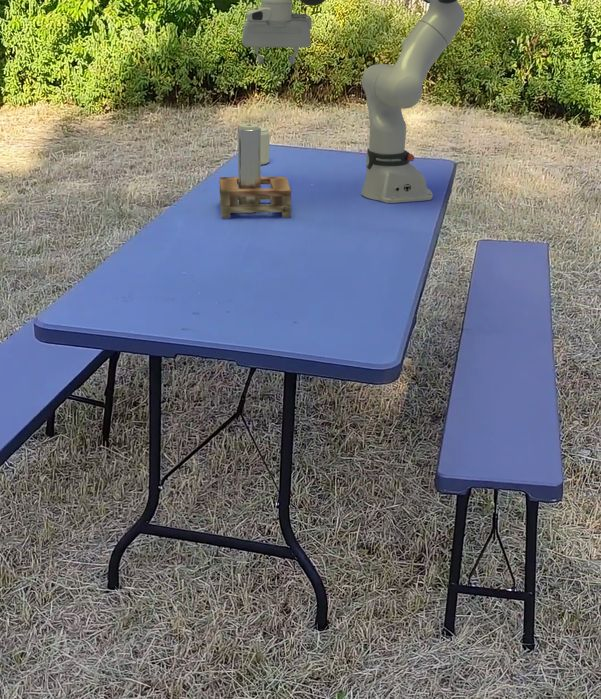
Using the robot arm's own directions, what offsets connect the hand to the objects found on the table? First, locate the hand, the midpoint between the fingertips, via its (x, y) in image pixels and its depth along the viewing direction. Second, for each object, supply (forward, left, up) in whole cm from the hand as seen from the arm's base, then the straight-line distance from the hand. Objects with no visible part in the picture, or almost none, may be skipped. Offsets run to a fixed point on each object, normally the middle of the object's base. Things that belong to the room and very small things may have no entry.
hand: (276, 63), depth 255 cm
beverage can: (+3, -35, -39) cm, 53 cm away
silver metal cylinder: (+9, +20, -39) cm, 45 cm away
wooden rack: (+8, +20, -39) cm, 45 cm away
